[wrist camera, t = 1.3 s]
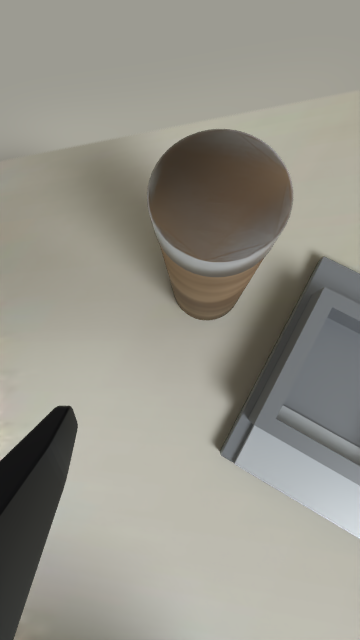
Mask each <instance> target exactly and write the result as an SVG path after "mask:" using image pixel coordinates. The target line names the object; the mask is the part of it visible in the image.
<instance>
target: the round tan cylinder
mask: <svg viewBox="0 0 360 640" xmlns="http://www.w3.org/2000/svg"><path fill="white" fill-rule="evenodd" d="M147 203H148V209H149V214H150V218H151V221H152V224H153V227H154V231H155V234H156V237H157V240H158V242H159V244H160V247H161V250H162V254H163V257H164V260H165V264H166V267H167V271H168V274H169V278H170V281H171V284H172V288H173V291H174V295H175V298H176V301H177V303H178V305H179V306H180V307H181V309H182V310H183V311H184V312H185V313H187V314H188V315H190V316H191V317H194V318H196V319H200V320H213V319H217V318H220V317H222V316H224V315H225V314H227V313H228V312H229V311H230V310H231V309H232V308H233V307H234V305H235V304H236V302H237V300H238V299H239V297H240V296H241V294H242V292H243V291H244V289H245V288H246V286H247V284H248V283H249V281H250V280H251V278H252V276H253V275H254V273H255V271H256V270H257V268H258V267H259V265H260V263H261V262H262V260H263V259H264V257H265V256H266V255H267V254H268V252H269V251H270V250H271V248H272V247H273V245H274V243H275V242H276V240H277V239H278V237H279V236H280V234H281V232H282V231H283V229H284V228H285V226H286V224H287V222H288V219H289V217H290V214H291V210H292V205H293V187H292V181H291V178H290V174H289V172H288V170H287V168H286V165H285V164H284V162H283V161H282V159H281V158H280V156H279V155H278V154H277V153H276V152H275V151H274V150H273V149H272V148H271V147H270V146H269V145H267V144H266V143H265V142H263V141H262V140H260V139H258V138H256V137H254V136H252V135H250V134H247V133H245V132H241V131H237V130H230V129H212V130H205V131H201V132H198V133H195V134H192V135H189V136H187V137H185V138H183V139H182V140H180V141H178V142H177V143H175V144H174V145H173V146H172V147H171V148H169V149H168V150H167V151H166V152H165V153H164V154H163V156H162V157H161V158H160V160H159V161H158V162H157V164H156V166H155V168H154V170H153V172H152V174H151V177H150V180H149V185H148V191H147Z"/></svg>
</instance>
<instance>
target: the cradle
mask: <svg viewBox="0 0 360 640" xmlns="http://www.w3.org/2000/svg"><path fill="white" fill-rule="evenodd" d="M220 454H221V456H223V457H225V458H227V459H228V460H230V461H232V462H233V463H234V464H235V465H237V466H238V467H240V468H242V469H243V470H245V471H247V472H248V473H250V474H252V475H253V476H255V477H257V478H258V479H260V480H262V481H263V482H265V483H267V484H268V485H270V486H272V487H273V488H275V489H277V490H278V491H280V492H282V493H284V494H285V495H287V496H289V497H290V498H292V499H294V500H295V501H297V502H299V503H300V504H302V505H304V506H305V507H307V508H309V509H310V510H312V511H314V512H315V513H317V514H319V515H320V516H322V517H324V518H326V519H327V520H329V521H331V522H332V523H334V524H336V525H337V526H339V527H341V528H342V529H344V530H346V531H347V532H349V533H351V534H352V535H354V536H356V537H357V538H359V539H360V274H359V273H357V272H355V271H353V270H351V269H349V268H347V267H345V266H343V265H341V264H338V263H336V262H334V261H332V260H330V259H328V258H326V257H323V258H322V259H320V260H319V262H318V264H317V266H316V268H315V270H314V272H313V274H312V276H311V278H310V280H309V282H308V284H307V285H306V287H305V289H304V291H303V293H302V295H301V297H300V299H299V301H298V303H297V305H296V307H295V308H294V310H293V312H292V314H291V316H290V318H289V320H288V322H287V324H286V326H285V328H284V330H283V332H282V333H281V335H280V337H279V339H278V341H277V343H276V345H275V347H274V349H273V351H272V353H271V355H270V357H269V358H268V360H267V362H266V364H265V366H264V368H263V370H262V372H261V374H260V376H259V378H258V380H257V382H256V383H255V385H254V387H253V389H252V391H251V393H250V395H249V397H248V399H247V401H246V403H245V405H244V407H243V408H242V410H241V412H240V414H239V416H238V418H237V420H236V422H235V424H234V426H233V428H232V430H231V432H230V433H229V435H228V437H227V439H226V441H225V443H224V445H223V447H222V449H221V451H220Z"/></svg>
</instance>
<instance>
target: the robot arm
mask: <svg viewBox="0 0 360 640" xmlns="http://www.w3.org/2000/svg"><path fill="white" fill-rule="evenodd" d="M77 428H78V424H77V420H76V417H75V414H74V411H73V409H72V407H71V406H57V407H56V408H54V409H53V410H52V411H51V412H50V413H49V414H48V415H47V416H46V417H45V418H44V419H43V420H42V421H41V422H40V423H39V424H38V425H37V426H36V427H35V428H34V429H33V430H32V431H31V432H30V433H29V434H28V435H27V436H26V437H25V438H24V439H23V440H21V441H20V442H19V443H18V444H17V445H16V446H15V447H14V448H13V449H12V450H11V451H10V452H9V453H8V454H7V455H6V456H5V457H4V458H3V459H2V460H1V461H0V640H13V639H14V636H15V633H16V630H17V627H18V624H19V621H20V618H21V615H22V612H23V609H24V606H25V603H26V600H27V597H28V594H29V591H30V588H31V585H32V582H33V579H34V576H35V573H36V570H37V567H38V564H39V561H40V558H41V555H42V552H43V549H44V546H45V543H46V540H47V537H48V534H49V531H50V528H51V525H52V522H53V519H54V516H55V513H56V510H57V507H58V504H59V501H60V498H61V495H62V492H63V489H64V485H65V482H66V478H67V474H68V470H69V465H70V461H71V456H72V452H73V447H74V443H75V438H76V433H77Z"/></svg>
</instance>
